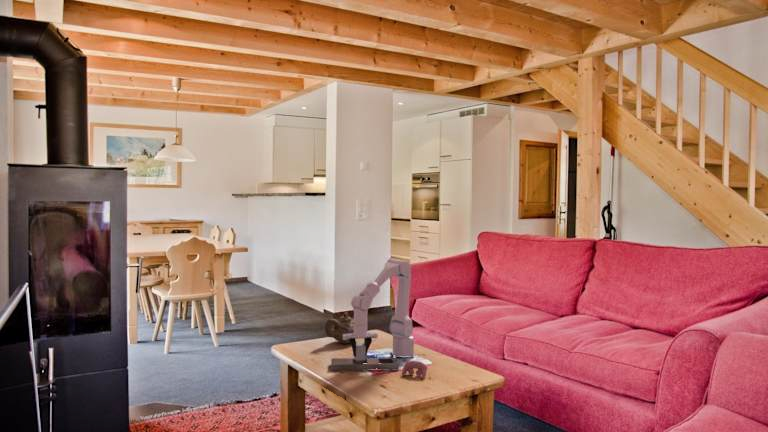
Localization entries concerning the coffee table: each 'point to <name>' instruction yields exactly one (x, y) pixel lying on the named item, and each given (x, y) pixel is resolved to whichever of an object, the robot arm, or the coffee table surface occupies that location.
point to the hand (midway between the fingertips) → (360, 355)
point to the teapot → (340, 328)
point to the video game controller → (415, 364)
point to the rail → (372, 363)
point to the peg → (360, 352)
